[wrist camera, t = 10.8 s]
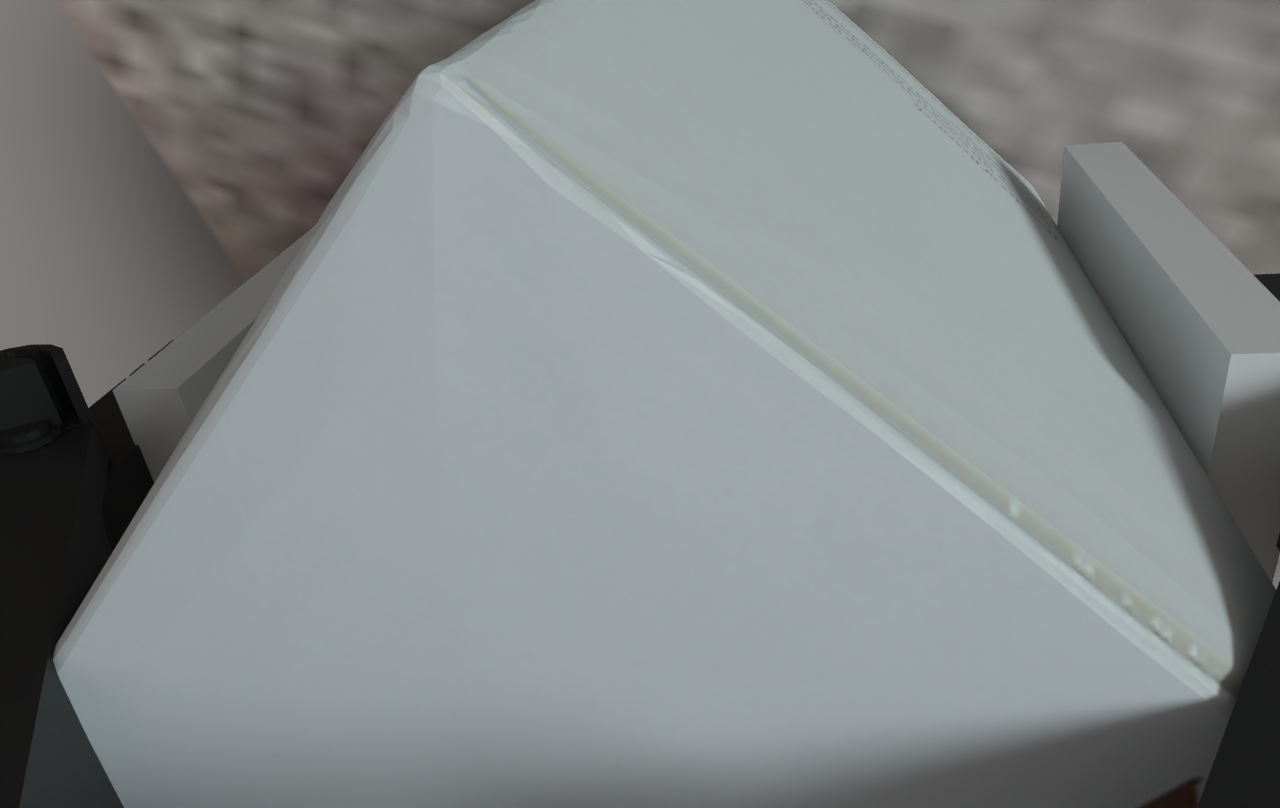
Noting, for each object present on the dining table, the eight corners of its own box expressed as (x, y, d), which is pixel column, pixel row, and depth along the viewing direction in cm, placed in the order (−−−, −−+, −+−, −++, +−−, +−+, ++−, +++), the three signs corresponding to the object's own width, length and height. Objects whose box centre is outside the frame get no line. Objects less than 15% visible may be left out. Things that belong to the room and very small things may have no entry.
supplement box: (701, -128, 15) (434, -10, 4) (1042, 187, 17) (1476, 853, 6) (444, 225, 19) (-64, 784, 8) (747, 458, 20) (677, 1195, 9)
